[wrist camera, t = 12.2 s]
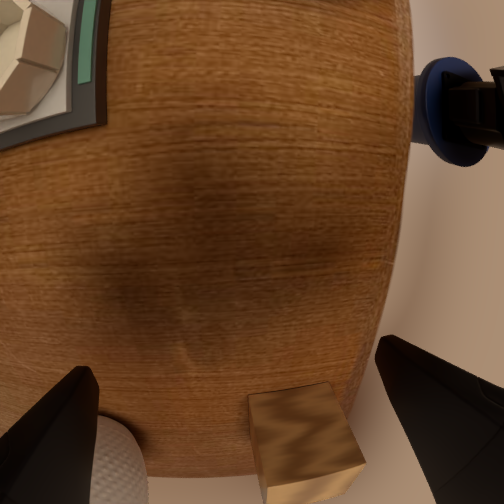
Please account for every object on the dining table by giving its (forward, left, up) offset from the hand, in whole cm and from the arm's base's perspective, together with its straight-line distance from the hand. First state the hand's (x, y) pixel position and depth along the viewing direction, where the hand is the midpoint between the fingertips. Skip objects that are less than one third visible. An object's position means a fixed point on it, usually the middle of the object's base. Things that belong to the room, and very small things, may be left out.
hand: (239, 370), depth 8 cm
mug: (+16, +22, -12) cm, 30 cm away
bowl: (+11, -12, -9) cm, 19 cm away
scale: (+11, -13, -12) cm, 21 cm away
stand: (-6, +20, -12) cm, 24 cm away
